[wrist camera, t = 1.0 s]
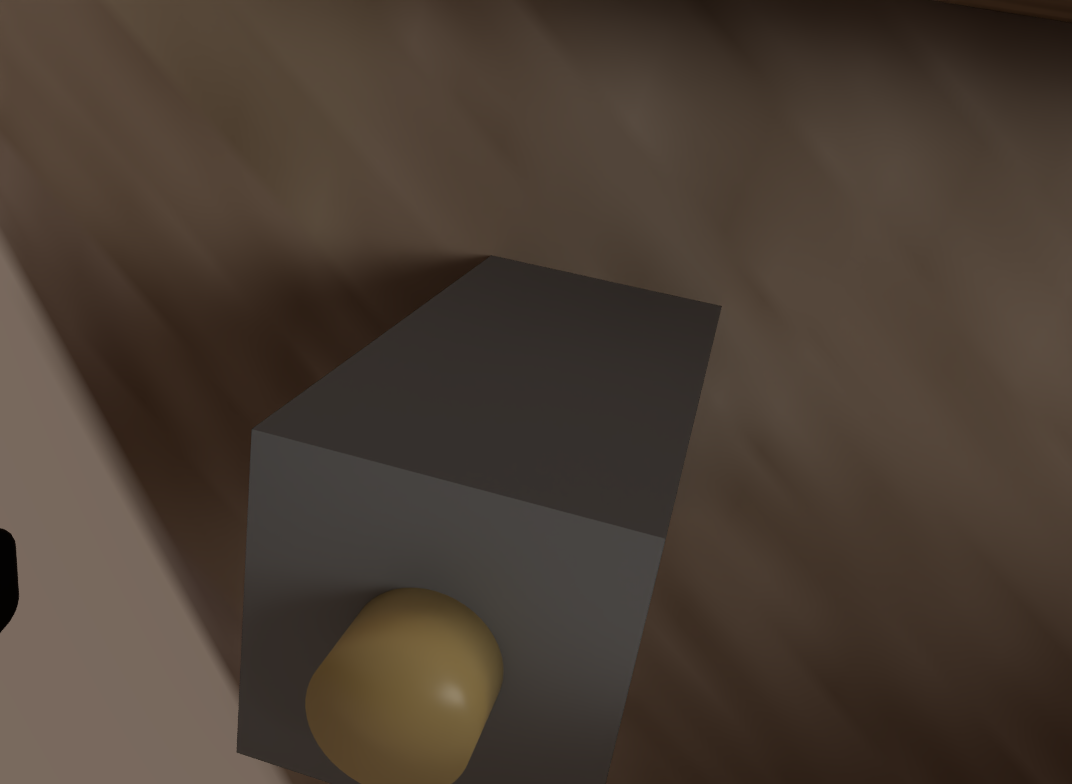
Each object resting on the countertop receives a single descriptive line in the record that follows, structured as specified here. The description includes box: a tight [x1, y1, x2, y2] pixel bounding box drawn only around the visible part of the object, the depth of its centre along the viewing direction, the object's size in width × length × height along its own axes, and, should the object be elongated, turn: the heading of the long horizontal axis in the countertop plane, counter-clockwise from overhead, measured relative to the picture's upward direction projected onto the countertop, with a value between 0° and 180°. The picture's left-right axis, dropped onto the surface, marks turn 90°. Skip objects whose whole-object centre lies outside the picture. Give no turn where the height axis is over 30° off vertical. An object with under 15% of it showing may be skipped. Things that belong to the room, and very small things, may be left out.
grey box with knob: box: [237, 255, 722, 784], centre depth 13 cm, size 4×4×9 cm
